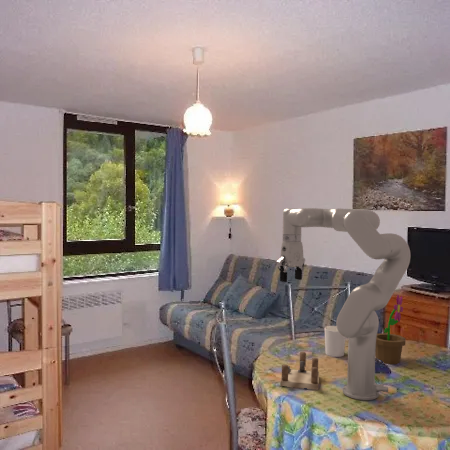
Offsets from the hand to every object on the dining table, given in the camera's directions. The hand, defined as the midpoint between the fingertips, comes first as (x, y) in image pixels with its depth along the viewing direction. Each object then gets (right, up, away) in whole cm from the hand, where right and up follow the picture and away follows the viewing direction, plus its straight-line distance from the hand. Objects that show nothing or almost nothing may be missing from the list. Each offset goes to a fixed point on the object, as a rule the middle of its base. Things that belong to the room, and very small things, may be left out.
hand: (291, 280), depth 194 cm
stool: (+2, -38, -11) cm, 39 cm away
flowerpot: (+45, -38, +16) cm, 61 cm away
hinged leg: (+4, -35, -2) cm, 36 cm away
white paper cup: (+23, -37, +24) cm, 50 cm away
